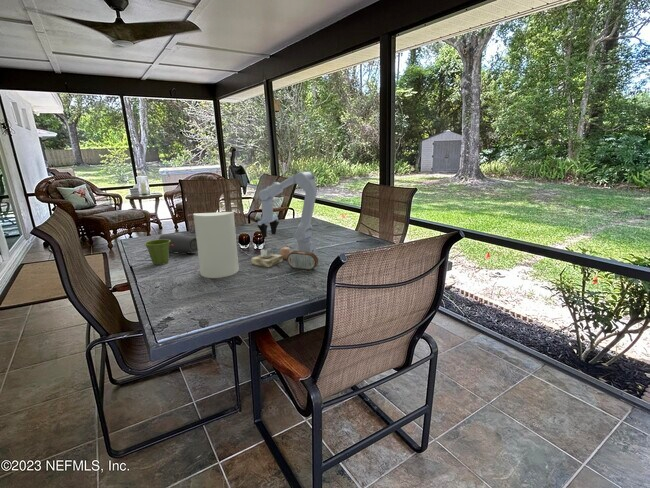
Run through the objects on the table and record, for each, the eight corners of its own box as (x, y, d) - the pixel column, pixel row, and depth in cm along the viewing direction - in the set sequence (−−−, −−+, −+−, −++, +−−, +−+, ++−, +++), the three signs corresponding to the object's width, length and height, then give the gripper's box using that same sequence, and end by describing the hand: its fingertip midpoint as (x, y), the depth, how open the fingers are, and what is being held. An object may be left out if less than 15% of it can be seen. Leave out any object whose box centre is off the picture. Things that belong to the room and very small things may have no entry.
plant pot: (178, 261, 174) (175, 240, 171) (159, 268, 164) (155, 245, 161) (162, 258, 179) (159, 238, 176) (142, 265, 169) (138, 243, 166)
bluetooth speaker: (158, 252, 189) (155, 235, 187) (171, 248, 198) (168, 232, 195) (189, 256, 181) (187, 239, 178) (201, 252, 189) (199, 235, 187)
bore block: (282, 261, 171) (282, 255, 170) (268, 267, 162) (268, 261, 161) (266, 257, 176) (266, 252, 176) (251, 263, 167) (251, 258, 167)
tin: (318, 269, 158) (318, 252, 156) (316, 271, 156) (315, 254, 153) (289, 266, 163) (288, 249, 161) (286, 268, 160) (285, 251, 158)
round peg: (292, 257, 178) (291, 248, 176) (286, 259, 173) (285, 250, 172) (284, 255, 180) (284, 246, 179) (278, 258, 176) (278, 249, 175)
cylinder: (237, 276, 151) (231, 215, 143) (197, 279, 148) (189, 216, 141) (240, 264, 167) (235, 208, 160) (204, 266, 164) (197, 210, 157)
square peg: (272, 261, 170) (272, 248, 168) (267, 264, 167) (266, 250, 165) (266, 260, 172) (265, 247, 170) (261, 263, 169) (260, 249, 167)
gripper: (270, 208, 189) (272, 232, 193) (252, 212, 177) (254, 237, 181) (280, 209, 185) (281, 233, 189) (262, 213, 174) (264, 239, 177)
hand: (269, 235), depth 185 cm, fingers open, 7 cm apart
